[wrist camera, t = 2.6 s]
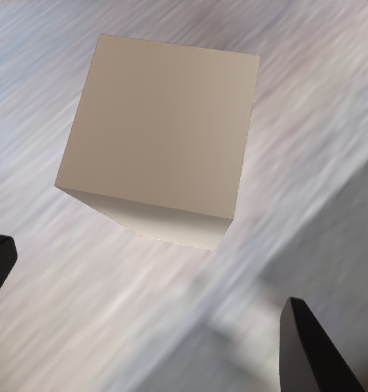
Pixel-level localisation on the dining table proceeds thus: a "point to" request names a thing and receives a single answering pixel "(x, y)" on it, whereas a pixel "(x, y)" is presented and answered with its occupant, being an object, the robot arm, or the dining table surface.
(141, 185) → the tall block
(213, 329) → the dining table surface
